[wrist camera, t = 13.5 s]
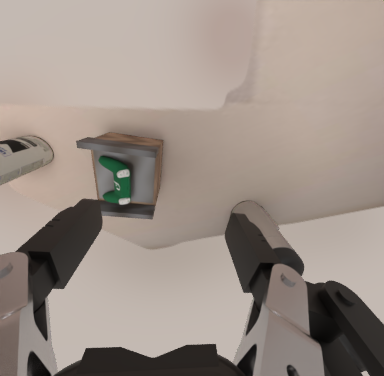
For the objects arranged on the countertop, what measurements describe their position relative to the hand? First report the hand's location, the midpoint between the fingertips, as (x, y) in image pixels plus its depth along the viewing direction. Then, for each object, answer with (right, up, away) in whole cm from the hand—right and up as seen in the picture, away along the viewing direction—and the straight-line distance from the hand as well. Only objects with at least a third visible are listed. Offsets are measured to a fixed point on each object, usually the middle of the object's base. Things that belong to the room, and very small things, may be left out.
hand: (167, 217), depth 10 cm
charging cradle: (-12, +8, +29) cm, 32 cm away
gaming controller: (-13, +4, +21) cm, 25 cm away
